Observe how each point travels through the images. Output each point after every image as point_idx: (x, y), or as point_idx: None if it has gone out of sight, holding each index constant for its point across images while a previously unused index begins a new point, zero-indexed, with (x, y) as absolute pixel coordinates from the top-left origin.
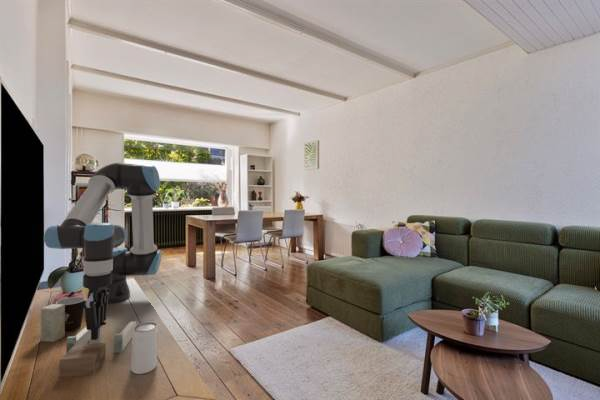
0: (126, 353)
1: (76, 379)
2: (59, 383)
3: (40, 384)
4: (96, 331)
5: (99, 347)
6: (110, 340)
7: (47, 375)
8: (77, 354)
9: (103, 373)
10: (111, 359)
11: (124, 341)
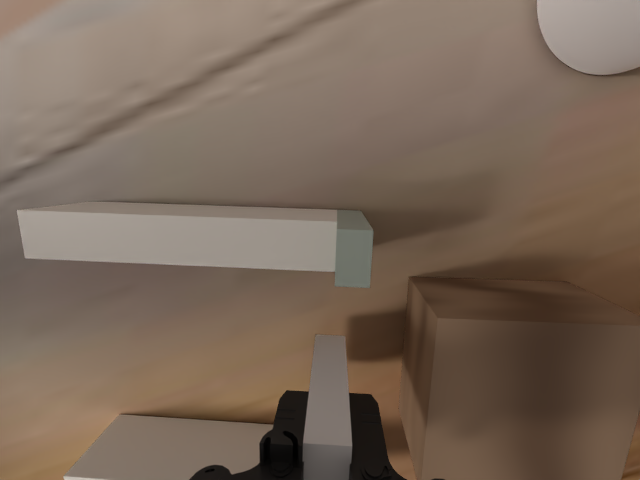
0: (375, 175)
1: None
2: None
3: None
4: (384, 451)
5: (513, 334)
6: (193, 317)
7: None
8: (578, 433)
9: (579, 230)
10: (430, 239)
11: (302, 214)
